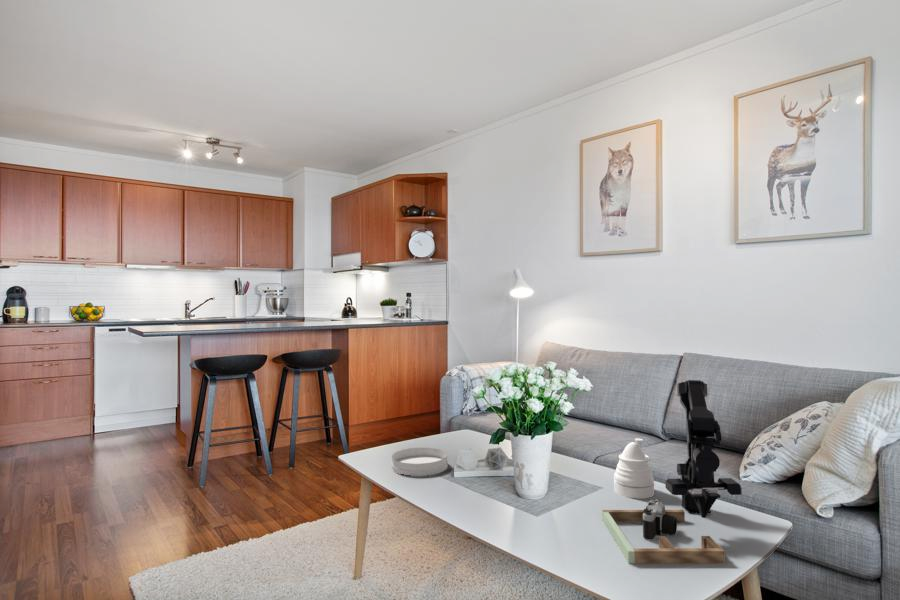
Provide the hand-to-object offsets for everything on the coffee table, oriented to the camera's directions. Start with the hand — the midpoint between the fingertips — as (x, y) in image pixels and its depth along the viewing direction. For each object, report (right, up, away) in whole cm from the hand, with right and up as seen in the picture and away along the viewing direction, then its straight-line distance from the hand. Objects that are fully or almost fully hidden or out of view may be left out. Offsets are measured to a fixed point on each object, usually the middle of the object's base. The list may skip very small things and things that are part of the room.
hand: (703, 517), depth 150 cm
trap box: (-14, -5, -3) cm, 15 cm away
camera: (-12, -5, +1) cm, 13 cm away
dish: (-82, -6, +63) cm, 104 cm away
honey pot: (-8, -5, +33) cm, 34 cm away
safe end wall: (-25, -5, -3) cm, 25 cm away
